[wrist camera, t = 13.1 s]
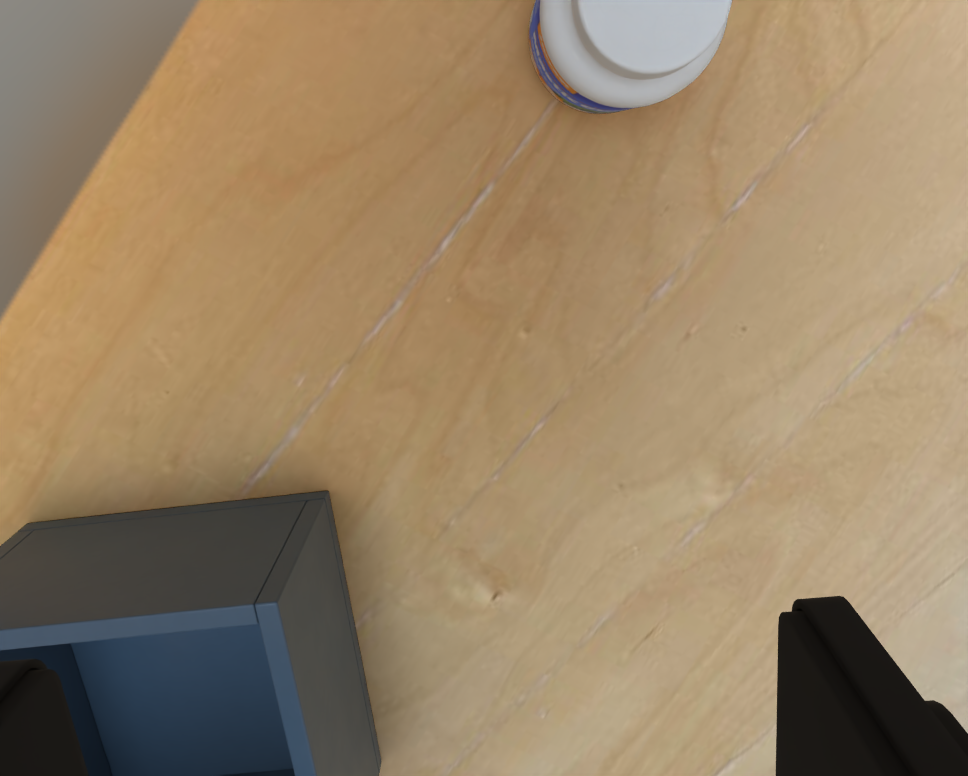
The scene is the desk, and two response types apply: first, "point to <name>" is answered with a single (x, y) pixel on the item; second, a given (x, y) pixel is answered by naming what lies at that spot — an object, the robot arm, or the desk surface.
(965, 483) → the desk surface
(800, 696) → the robot arm
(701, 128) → the desk surface
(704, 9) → the pill bottle
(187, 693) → the grey open box
